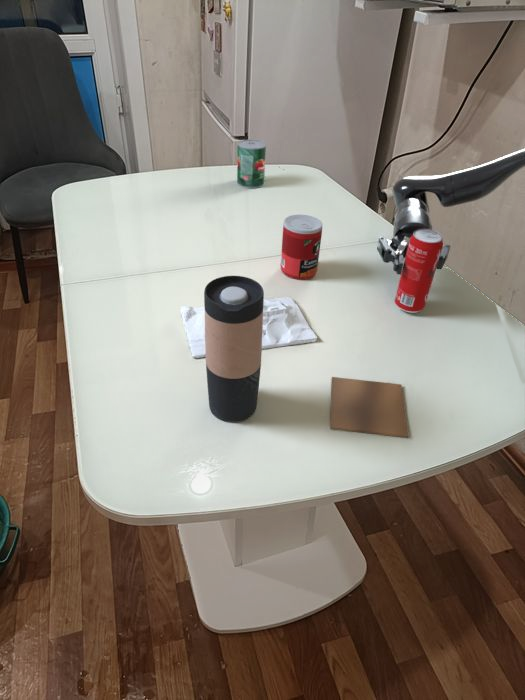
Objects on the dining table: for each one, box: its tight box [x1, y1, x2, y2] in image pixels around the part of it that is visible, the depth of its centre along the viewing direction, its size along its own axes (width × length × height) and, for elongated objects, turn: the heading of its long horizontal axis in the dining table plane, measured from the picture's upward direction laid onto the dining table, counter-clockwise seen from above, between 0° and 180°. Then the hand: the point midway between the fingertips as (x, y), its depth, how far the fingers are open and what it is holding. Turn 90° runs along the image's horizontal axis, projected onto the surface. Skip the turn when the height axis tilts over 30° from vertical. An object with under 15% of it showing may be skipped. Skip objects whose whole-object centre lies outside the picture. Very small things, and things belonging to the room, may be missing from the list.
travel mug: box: [203, 275, 265, 423], centre depth 70 cm, size 8×8×20 cm
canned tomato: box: [236, 139, 267, 189], centre depth 143 cm, size 8×8×11 cm
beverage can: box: [394, 229, 444, 314], centre depth 93 cm, size 6×6×15 cm
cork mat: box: [330, 376, 410, 439], centre depth 77 cm, size 11×11×1 cm
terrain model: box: [179, 296, 318, 359], centre depth 90 cm, size 17×23×5 cm
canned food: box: [280, 214, 323, 280], centre depth 105 cm, size 8×8×11 cm
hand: (414, 271), depth 91 cm, fingers closed on beverage can, 4 cm apart
